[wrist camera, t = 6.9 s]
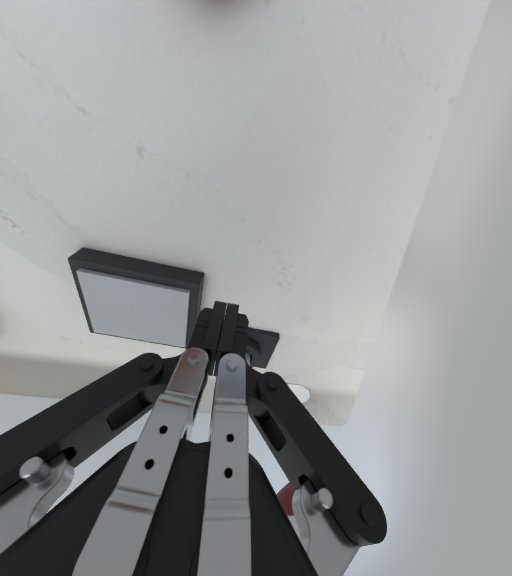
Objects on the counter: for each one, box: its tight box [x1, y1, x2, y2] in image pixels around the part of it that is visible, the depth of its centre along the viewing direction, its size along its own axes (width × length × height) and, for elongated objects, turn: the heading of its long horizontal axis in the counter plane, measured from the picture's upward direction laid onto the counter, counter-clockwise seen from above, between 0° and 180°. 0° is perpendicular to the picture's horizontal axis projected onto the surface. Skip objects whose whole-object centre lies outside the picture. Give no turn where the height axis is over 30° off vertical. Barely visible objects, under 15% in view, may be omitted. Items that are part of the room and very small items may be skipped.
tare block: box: [216, 328, 279, 368], centre depth 34 cm, size 10×8×2 cm
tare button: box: [246, 351, 250, 366], centre depth 33 cm, size 3×3×2 cm
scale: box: [68, 248, 204, 349], centre depth 29 cm, size 14×12×3 cm
